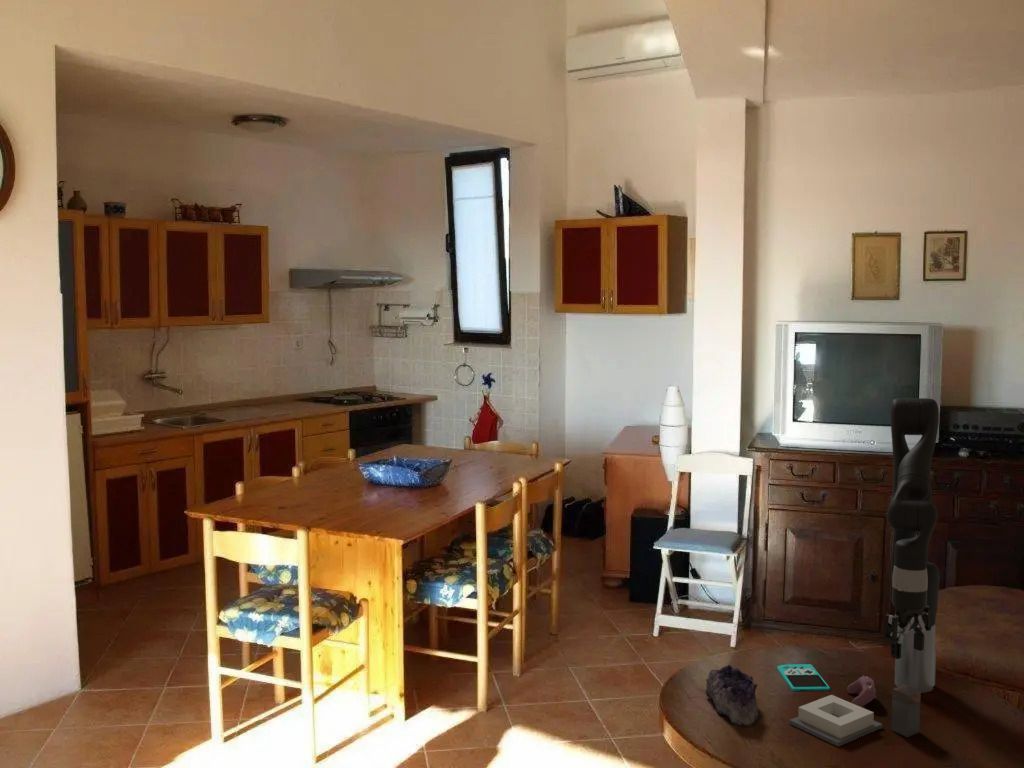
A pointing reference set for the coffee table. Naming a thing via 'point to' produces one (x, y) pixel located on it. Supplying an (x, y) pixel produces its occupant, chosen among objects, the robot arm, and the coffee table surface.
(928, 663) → the robot arm
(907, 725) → the plug
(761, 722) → the coffee table surface
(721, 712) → the geode
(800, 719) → the socket
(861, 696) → the video game controller
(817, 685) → the handheld game console
